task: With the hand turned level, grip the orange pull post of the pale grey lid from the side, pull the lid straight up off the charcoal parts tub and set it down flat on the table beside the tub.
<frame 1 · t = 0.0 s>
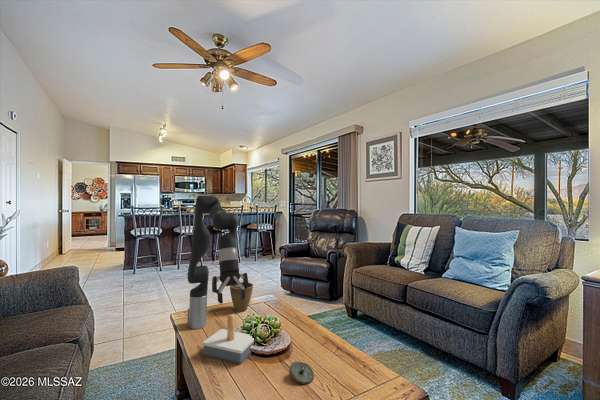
hand: (231, 301, 113), 31 cm above the table, tool tilted 20°, fingers open, 8 cm apart
tub lid: (230, 341, 135), point 5 cm above the table, touching parts tub
parts tub: (230, 352, 135), on the table
lid: (301, 377, 118), on the table
plant pot: (240, 309, 187), on the table
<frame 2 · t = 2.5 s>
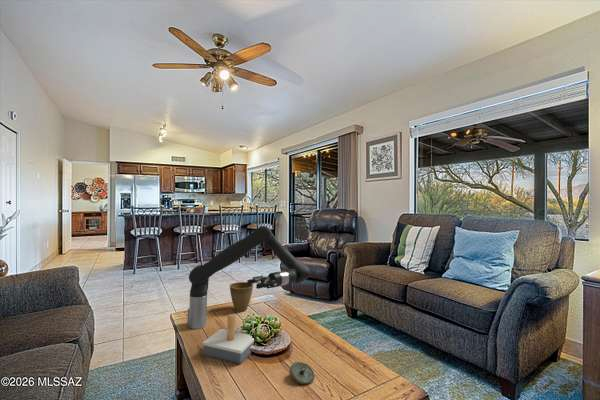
hand: (252, 284, 142), 30 cm above the table, tool horizontal, fingers open, 8 cm apart
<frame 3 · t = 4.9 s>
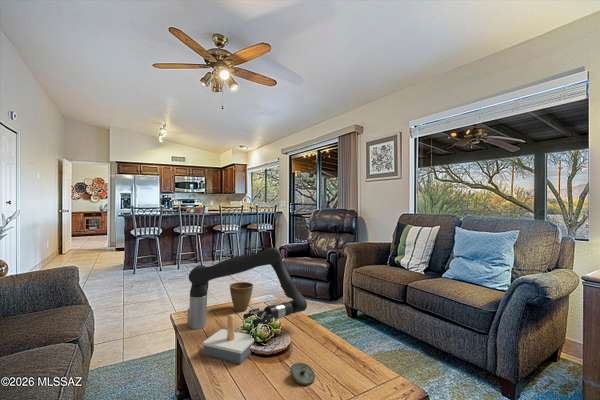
hand: (248, 319, 141), 13 cm above the table, tool horizontal, fingers open, 8 cm apart
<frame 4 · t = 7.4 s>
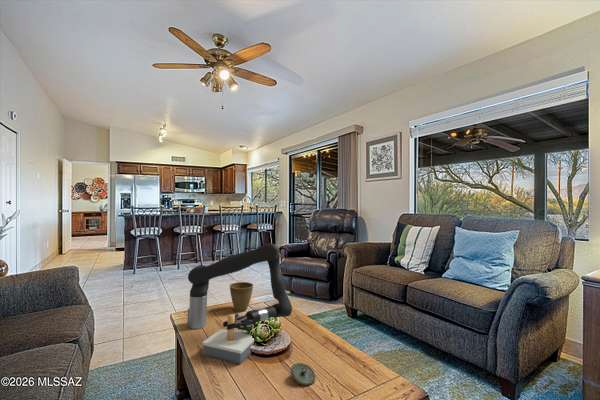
hand: (225, 326, 133), 13 cm above the table, tool horizontal, fingers closed on tub lid, 3 cm apart
tub lid: (230, 341, 135), point 5 cm above the table, touching gripper, parts tub
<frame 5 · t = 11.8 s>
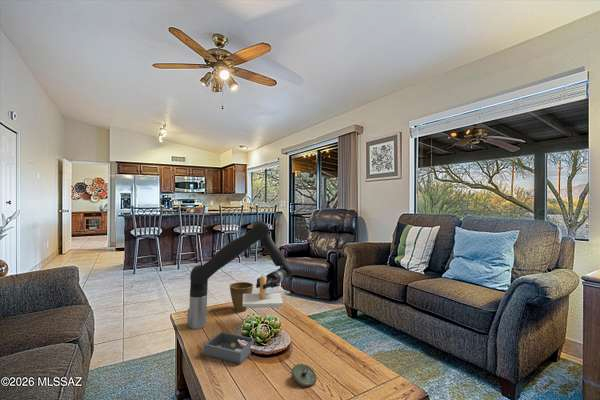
hand: (260, 286, 146), 28 cm above the table, tool horizontal, fingers closed on tub lid, 3 cm apart
tub lid: (262, 300, 148), point 20 cm above the table, touching gripper
when the fingers open (11 cm above the table, at t = 16.0 s): tub lid drops 2 cm, point 1 cm above the table.
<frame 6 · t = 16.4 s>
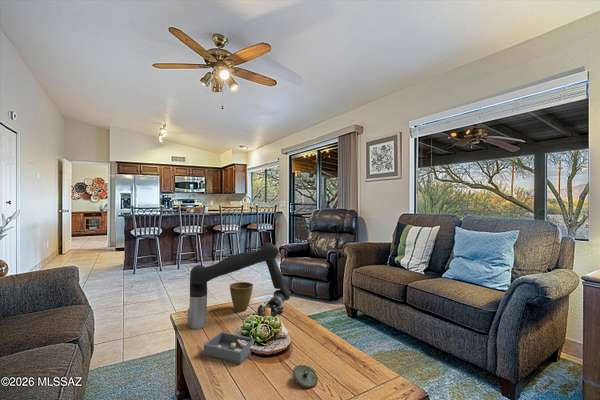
hand: (266, 314, 152), 11 cm above the table, tool horizontal, fingers open, 6 cm apart
tub lid: (267, 331, 154), point 1 cm above the table
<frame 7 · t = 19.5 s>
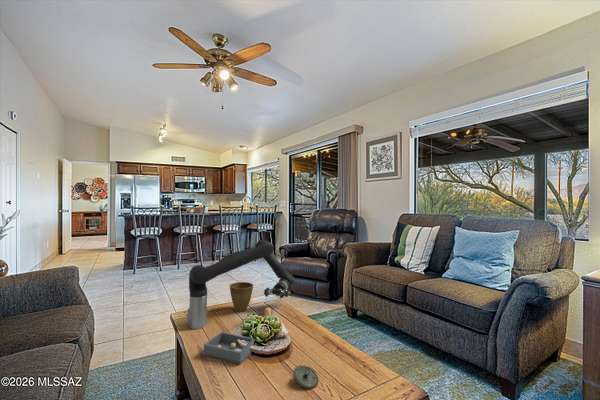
hand: (273, 295, 165), 17 cm above the table, tool horizontal, fingers open, 8 cm apart
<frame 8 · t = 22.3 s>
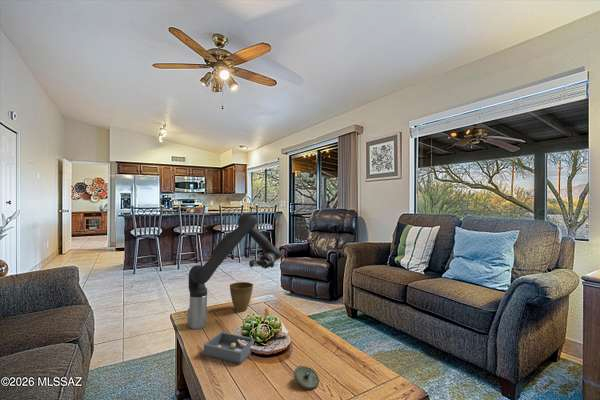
hand: (258, 266, 163), 34 cm above the table, tool horizontal, fingers open, 8 cm apart
at the end: tub lid inside the target area (0.1 cm from its centre), point 1.3 cm above the table; tub lid touching table; tub lid tilted 0° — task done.
